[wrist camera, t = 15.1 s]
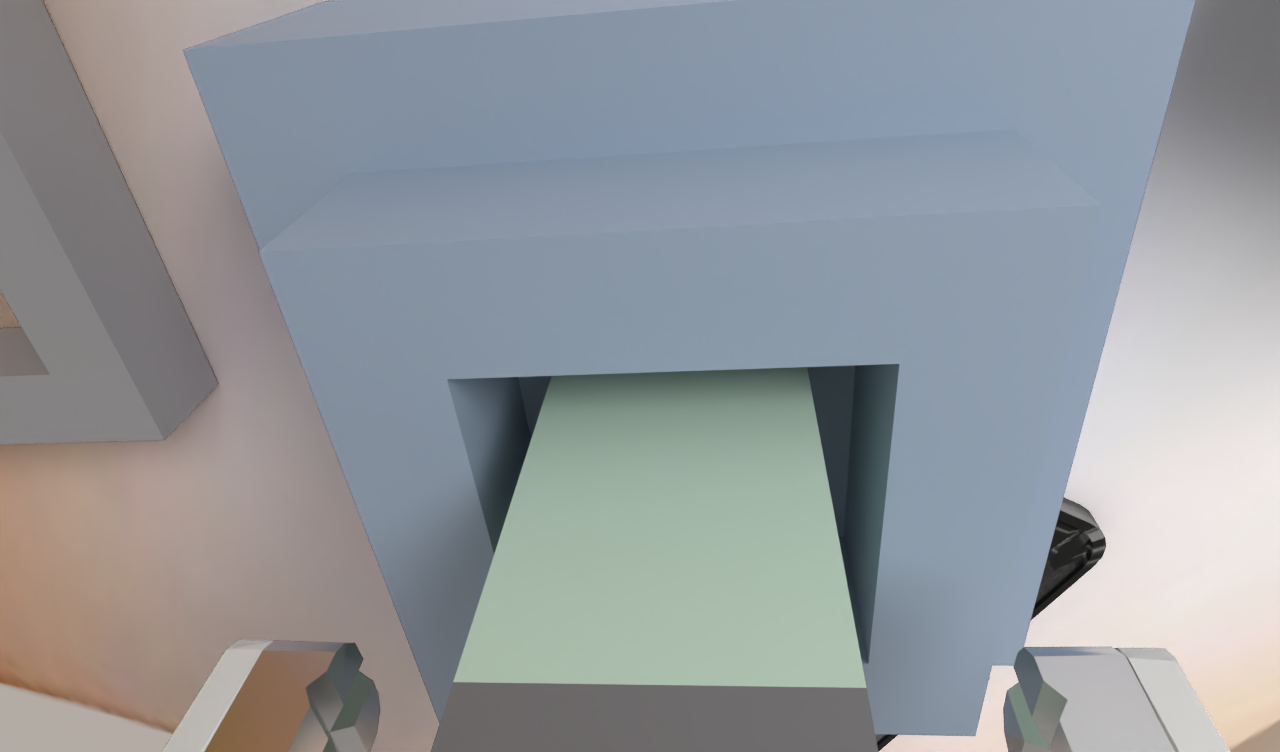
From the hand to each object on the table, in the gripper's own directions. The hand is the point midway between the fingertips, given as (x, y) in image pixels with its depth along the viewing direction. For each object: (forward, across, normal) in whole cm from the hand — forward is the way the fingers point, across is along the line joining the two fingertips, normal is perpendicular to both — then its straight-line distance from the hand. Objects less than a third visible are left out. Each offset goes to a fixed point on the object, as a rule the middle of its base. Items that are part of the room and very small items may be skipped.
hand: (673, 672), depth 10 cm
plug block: (+6, 0, 0) cm, 6 cm away
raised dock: (+10, 0, 0) cm, 11 cm away
